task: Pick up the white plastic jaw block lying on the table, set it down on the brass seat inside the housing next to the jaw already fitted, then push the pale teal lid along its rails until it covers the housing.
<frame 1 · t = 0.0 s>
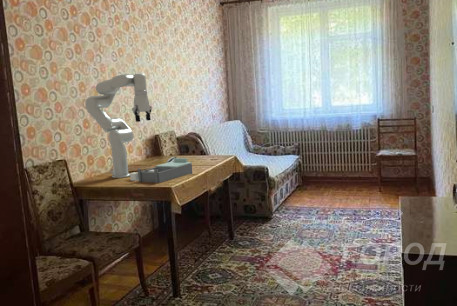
hand: (143, 120, 276), 37 cm above the table, tool pointing down, fingers open, 9 cm apart
jaw b: (135, 181, 270), on the table
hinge: (172, 170, 308), on the table
lid: (173, 162, 280), point 9 cm above the table, slide at 16.5 cm
housing: (158, 181, 267), on the table
jaw a: (153, 179, 269), resting on housing
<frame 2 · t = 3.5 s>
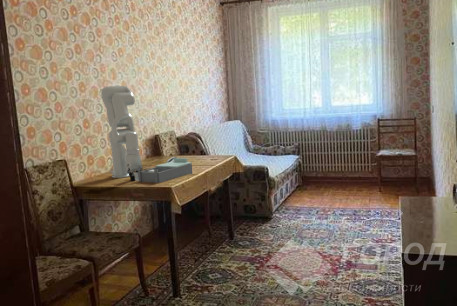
hand: (135, 181, 270), 0 cm above the table, tool pointing down, fingers closed on jaw b, 4 cm apart
jaw b: (135, 181, 270), on the table, touching gripper
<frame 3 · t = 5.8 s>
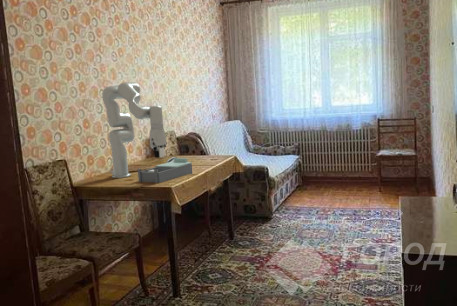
hand: (159, 156, 264), 15 cm above the table, tool pointing down, fingers closed on jaw b, 4 cm apart
jaw b: (159, 156, 264), point 15 cm above the table, touching gripper
when the fingers open (3 cm above the table, at t = 8.5 s): jaw b drops 1 cm, resting on housing.
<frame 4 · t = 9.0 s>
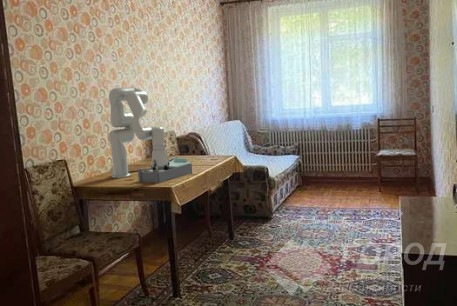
hand: (161, 175, 265), 4 cm above the table, tool pointing down, fingers open, 9 cm apart
jaw b: (161, 179, 265), point 1 cm above the table, touching housing
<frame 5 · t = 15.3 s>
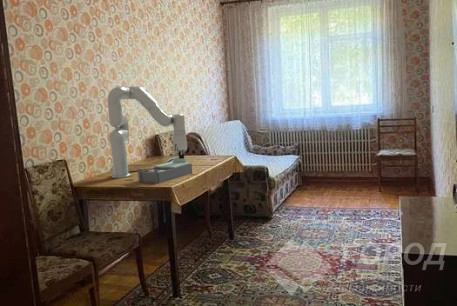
hand: (181, 160, 287), 9 cm above the table, tool pointing down, fingers closed
lid: (172, 162, 279), point 9 cm above the table, slide at 15.2 cm, touching gripper
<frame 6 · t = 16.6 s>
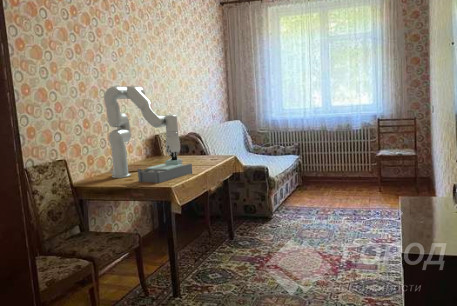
hand: (174, 162, 281), 9 cm above the table, tool pointing down, fingers closed
lid: (164, 164, 272), point 9 cm above the table, slide at 7.6 cm, touching gripper
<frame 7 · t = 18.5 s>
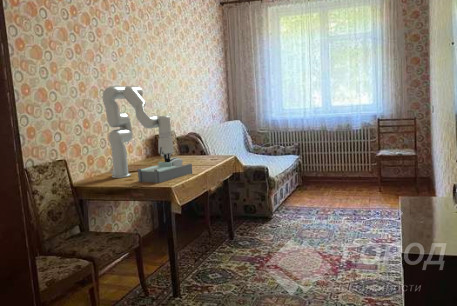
hand: (167, 164, 275), 9 cm above the table, tool pointing down, fingers closed
lid: (157, 166, 266), point 9 cm above the table, slide at 0.5 cm, touching gripper
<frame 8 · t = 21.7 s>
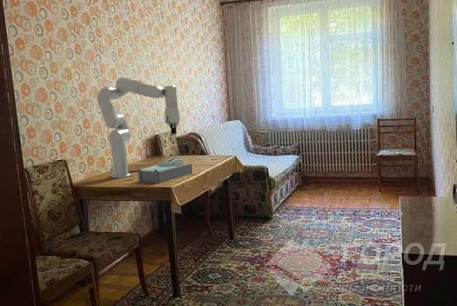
hand: (173, 133, 280), 27 cm above the table, tool pointing down, fingers closed
lid: (157, 166, 266), point 9 cm above the table, slide at 0.5 cm
at the end: jaw b 0.1 cm from the target spot on the housing, point 1.1 cm above the housing's base; jaw b tilted 0°; lid slide at 0.5 cm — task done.
